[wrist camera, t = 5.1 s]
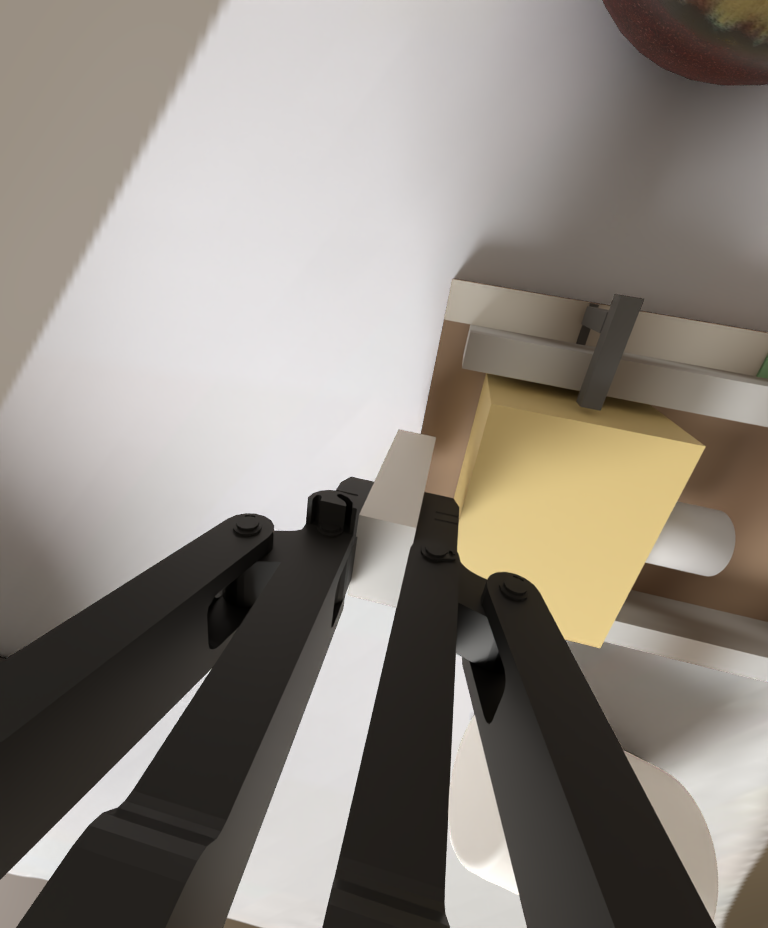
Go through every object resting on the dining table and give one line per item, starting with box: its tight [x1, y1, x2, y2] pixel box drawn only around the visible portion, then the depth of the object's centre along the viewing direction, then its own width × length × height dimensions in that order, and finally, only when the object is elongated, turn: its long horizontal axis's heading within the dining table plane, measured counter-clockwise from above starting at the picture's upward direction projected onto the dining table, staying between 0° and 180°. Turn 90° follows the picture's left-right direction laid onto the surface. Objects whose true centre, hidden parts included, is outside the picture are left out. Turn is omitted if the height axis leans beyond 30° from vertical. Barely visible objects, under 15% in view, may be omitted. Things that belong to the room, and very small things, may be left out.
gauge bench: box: [421, 279, 768, 683], centre depth 15 cm, size 24×14×7 cm, turn 81°
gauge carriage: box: [454, 294, 735, 648], centre depth 15 cm, size 9×11×4 cm
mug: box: [448, 714, 718, 921], centre depth 23 cm, size 12×10×8 cm
